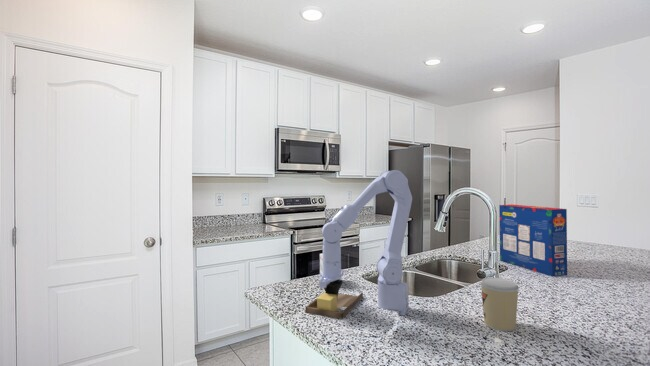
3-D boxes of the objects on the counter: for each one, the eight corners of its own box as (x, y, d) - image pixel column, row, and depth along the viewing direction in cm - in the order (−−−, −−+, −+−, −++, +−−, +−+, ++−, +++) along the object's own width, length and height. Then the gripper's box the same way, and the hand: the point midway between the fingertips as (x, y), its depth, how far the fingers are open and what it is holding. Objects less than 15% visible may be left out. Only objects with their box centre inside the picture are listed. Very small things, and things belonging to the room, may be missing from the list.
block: (337, 309, 99) (336, 294, 99) (330, 315, 95) (330, 300, 95) (324, 306, 101) (323, 292, 101) (317, 312, 97) (316, 298, 97)
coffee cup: (485, 315, 97) (485, 275, 97) (521, 323, 91) (521, 281, 91) (477, 326, 90) (476, 283, 90) (515, 336, 84) (515, 290, 84)
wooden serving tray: (363, 300, 110) (362, 292, 110) (342, 323, 93) (342, 313, 93) (330, 295, 115) (330, 288, 115) (305, 316, 98) (305, 307, 98)
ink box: (336, 287, 123) (336, 257, 123) (324, 288, 122) (323, 258, 122) (331, 281, 132) (331, 252, 132) (319, 282, 131) (319, 253, 131)
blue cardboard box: (567, 275, 136) (566, 209, 135) (552, 276, 134) (551, 209, 134) (513, 259, 163) (512, 204, 163) (499, 260, 161) (499, 205, 161)
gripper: (329, 254, 109) (330, 294, 110) (309, 265, 96) (310, 310, 96) (349, 256, 106) (349, 297, 107) (331, 267, 93) (331, 314, 93)
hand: (332, 303), depth 101 cm, fingers closed
